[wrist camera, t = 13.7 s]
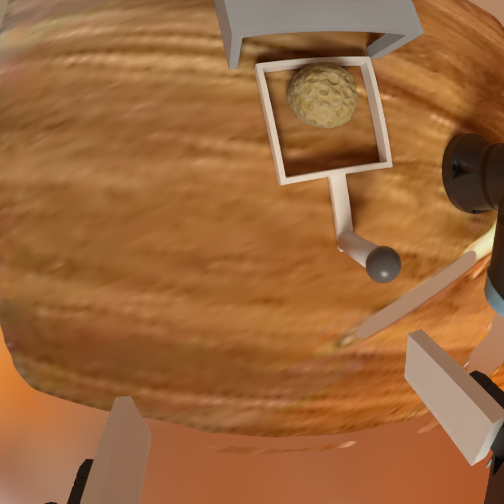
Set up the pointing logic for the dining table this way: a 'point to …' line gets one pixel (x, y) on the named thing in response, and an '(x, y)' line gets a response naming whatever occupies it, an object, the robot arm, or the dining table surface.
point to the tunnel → (317, 21)
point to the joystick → (363, 251)
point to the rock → (323, 95)
